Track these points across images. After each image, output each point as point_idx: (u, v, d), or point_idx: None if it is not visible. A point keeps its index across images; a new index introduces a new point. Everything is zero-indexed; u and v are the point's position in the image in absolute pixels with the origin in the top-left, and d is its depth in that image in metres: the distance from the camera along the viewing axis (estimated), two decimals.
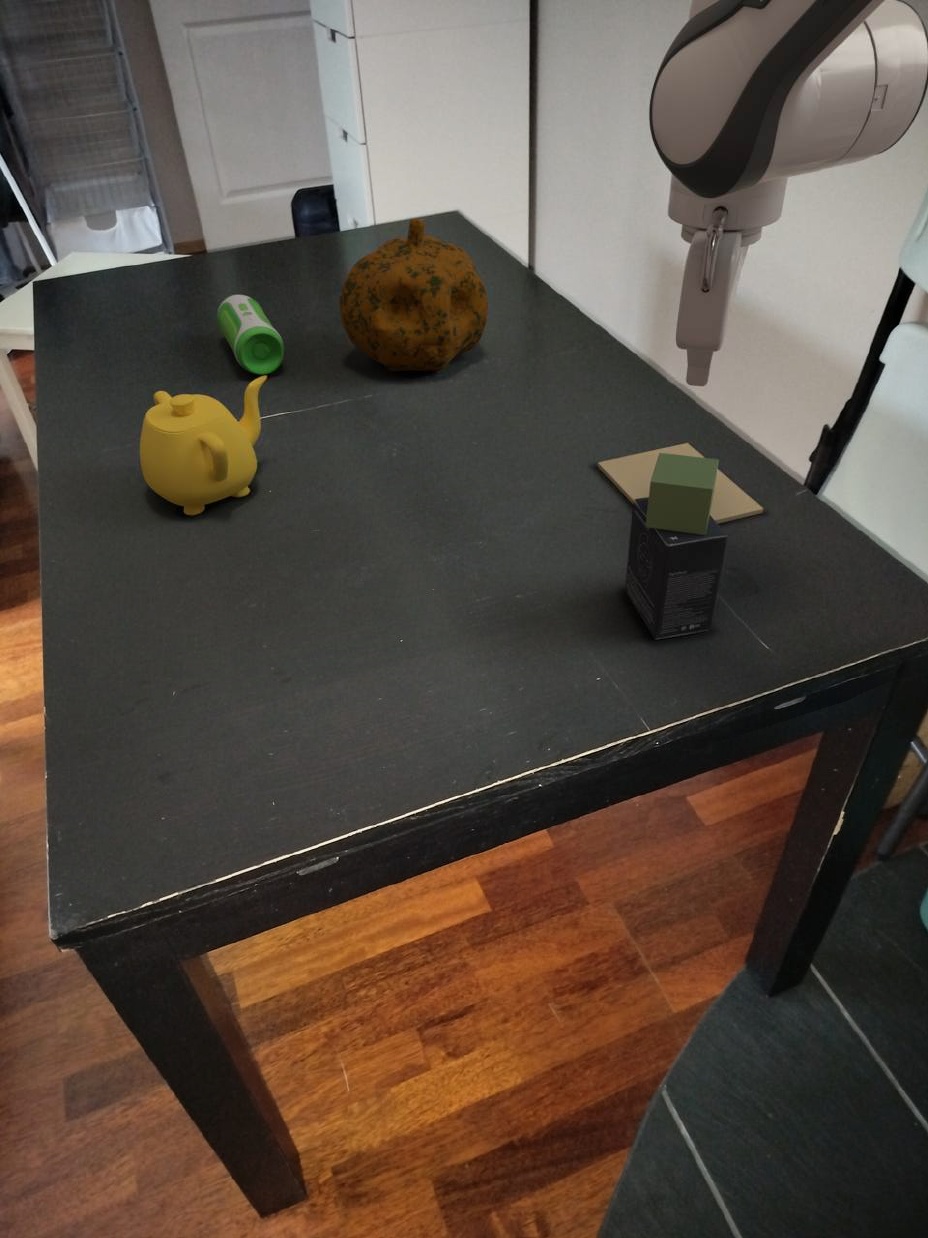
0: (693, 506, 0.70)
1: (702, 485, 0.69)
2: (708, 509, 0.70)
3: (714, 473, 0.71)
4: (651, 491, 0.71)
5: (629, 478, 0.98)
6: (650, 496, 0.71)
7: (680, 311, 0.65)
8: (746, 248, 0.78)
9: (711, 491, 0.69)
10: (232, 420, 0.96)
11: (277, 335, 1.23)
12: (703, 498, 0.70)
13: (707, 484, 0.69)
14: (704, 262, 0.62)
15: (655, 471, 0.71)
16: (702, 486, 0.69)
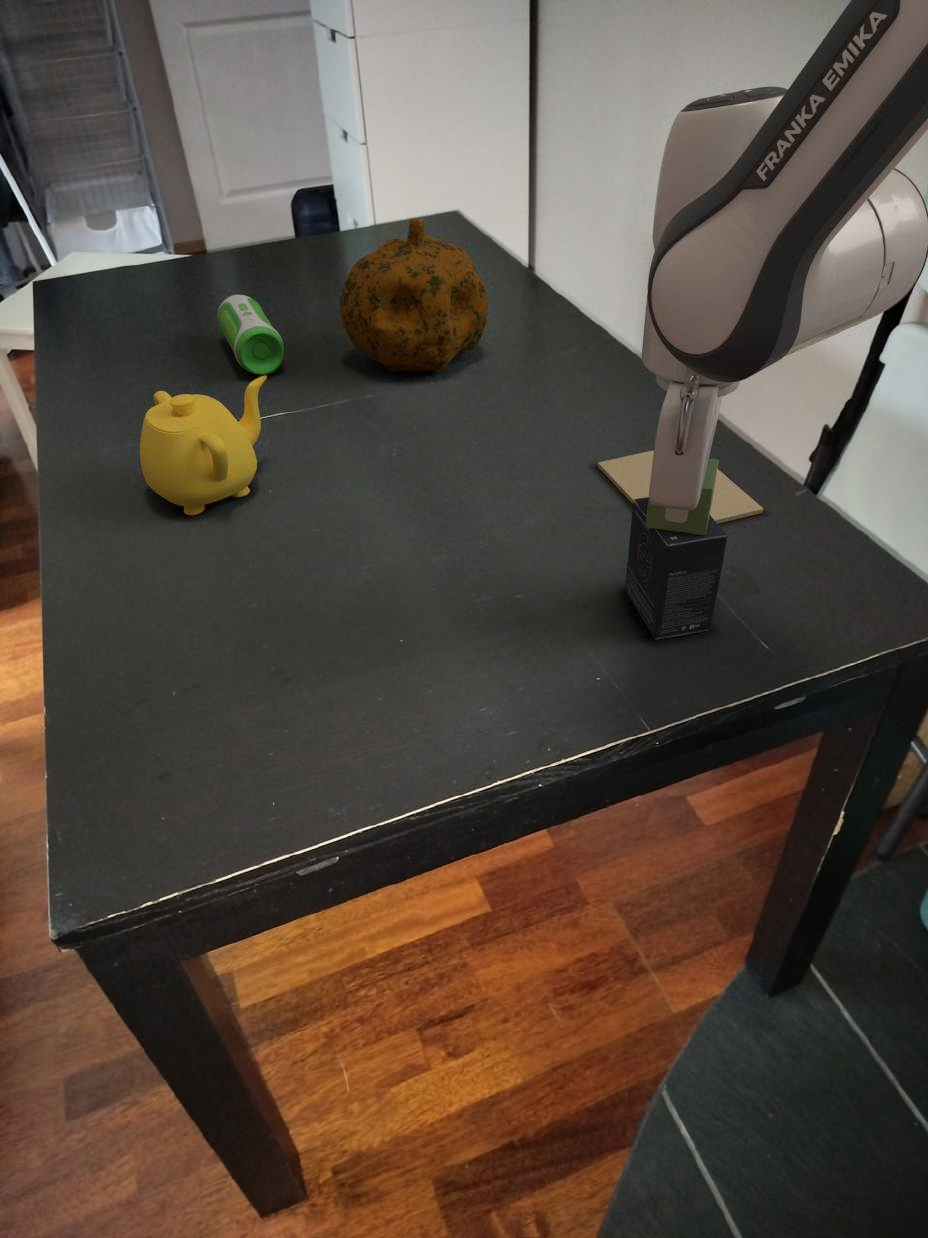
0: None
1: None
2: (708, 509, 0.70)
3: (714, 473, 0.71)
4: None
5: (629, 478, 0.98)
6: None
7: (653, 471, 0.61)
8: None
9: (711, 491, 0.69)
10: (232, 420, 0.96)
11: (277, 335, 1.23)
12: (702, 499, 0.70)
13: (707, 484, 0.69)
14: (677, 428, 0.58)
15: None
16: None
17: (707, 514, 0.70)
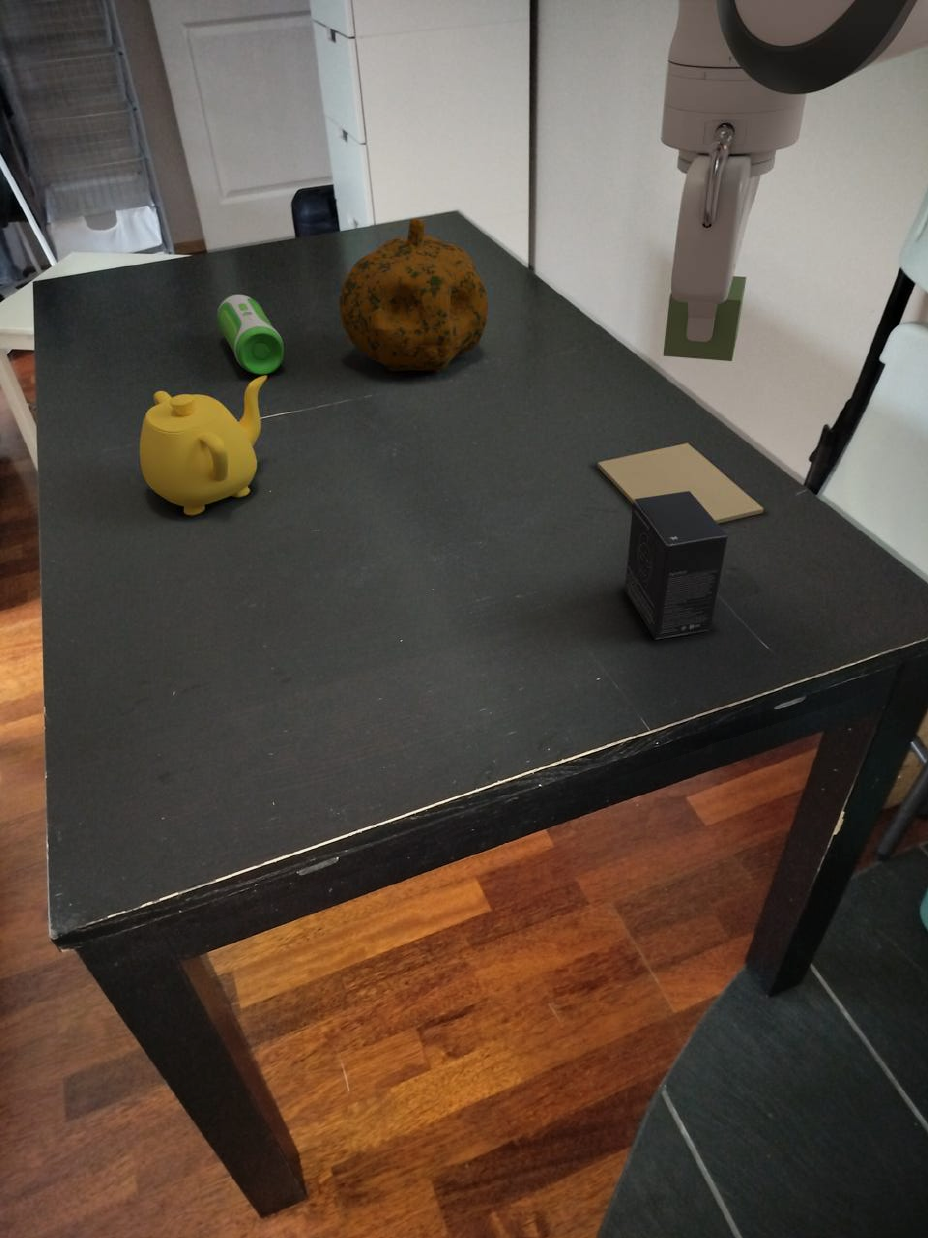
0: (718, 324, 0.62)
1: (729, 297, 0.61)
2: (735, 327, 0.62)
3: (742, 287, 0.62)
4: (670, 308, 0.62)
5: (629, 478, 0.98)
6: (669, 315, 0.62)
7: (676, 253, 0.53)
8: (755, 189, 0.66)
9: (739, 303, 0.60)
10: (232, 420, 0.96)
11: (277, 335, 1.23)
12: (729, 313, 0.61)
13: (734, 296, 0.61)
14: (705, 188, 0.50)
15: None
16: (728, 298, 0.61)
17: (734, 333, 0.62)
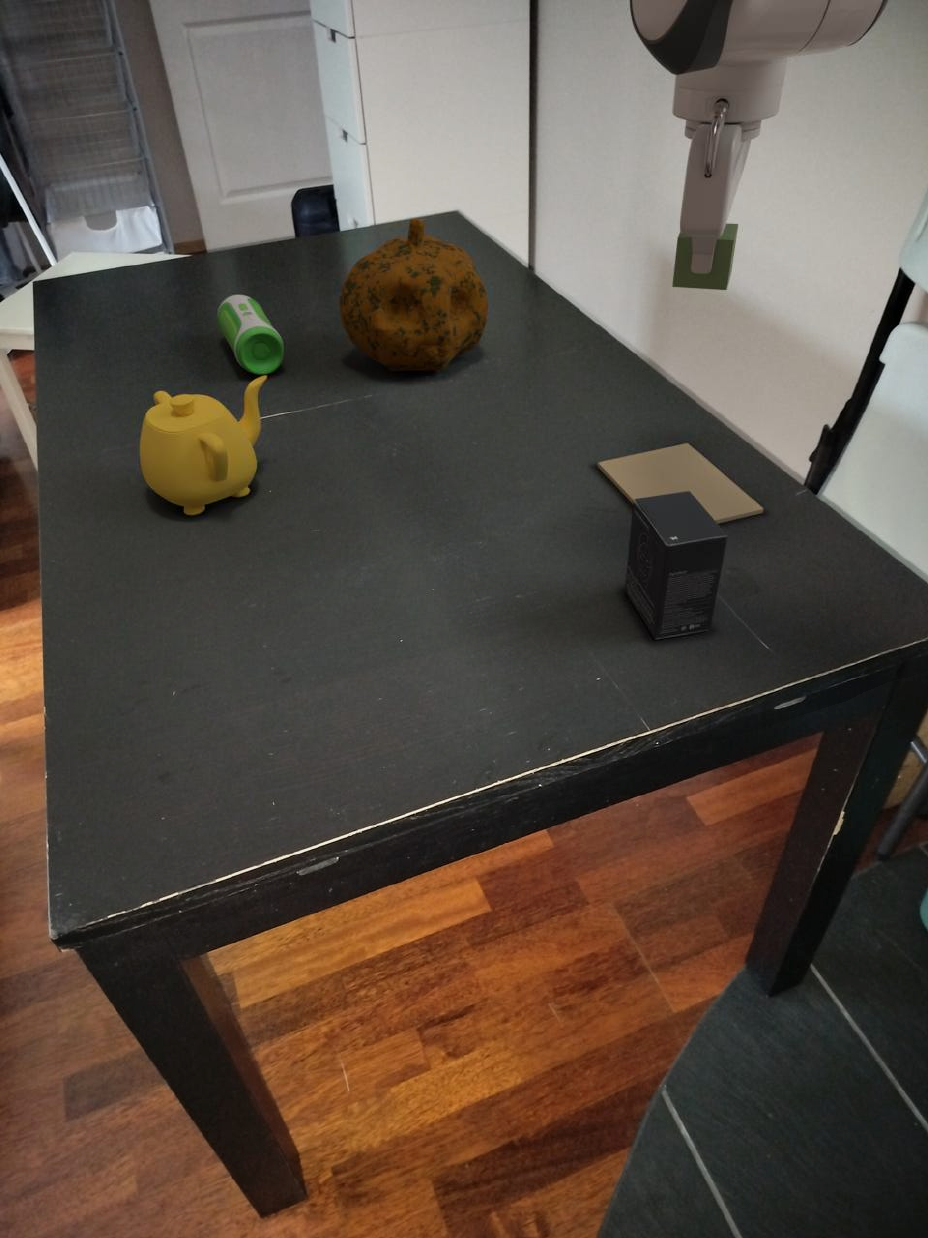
0: (716, 260, 0.78)
1: (724, 237, 0.77)
2: (729, 261, 0.78)
3: (734, 231, 0.79)
4: (678, 247, 0.79)
5: (629, 478, 0.98)
6: (677, 253, 0.79)
7: (684, 197, 0.69)
8: (745, 155, 0.82)
9: (732, 242, 0.77)
10: (232, 420, 0.96)
11: (277, 335, 1.23)
12: (725, 250, 0.78)
13: (729, 237, 0.77)
14: (707, 146, 0.66)
15: None
16: (724, 238, 0.77)
17: (728, 267, 0.78)
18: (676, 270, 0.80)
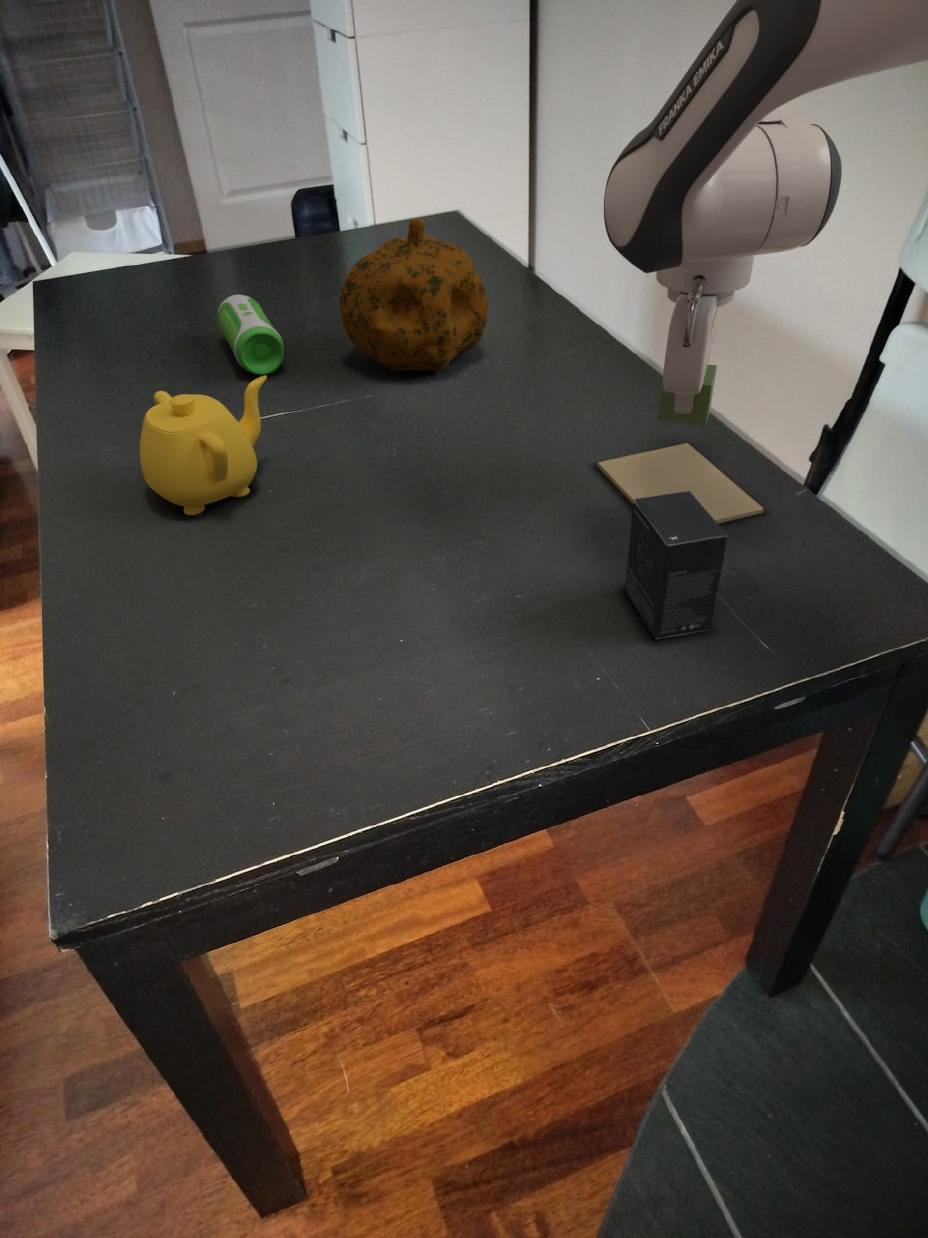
0: (696, 401, 0.88)
1: (703, 382, 0.86)
2: (708, 403, 0.87)
3: (713, 374, 0.88)
4: (662, 389, 0.88)
5: (629, 478, 0.98)
6: (661, 393, 0.88)
7: (666, 362, 0.79)
8: None
9: (710, 387, 0.86)
10: (232, 420, 0.96)
11: (277, 335, 1.23)
12: (704, 393, 0.87)
13: (707, 382, 0.87)
14: (685, 323, 0.75)
15: None
16: (703, 383, 0.86)
17: (707, 407, 0.88)
18: (661, 407, 0.89)
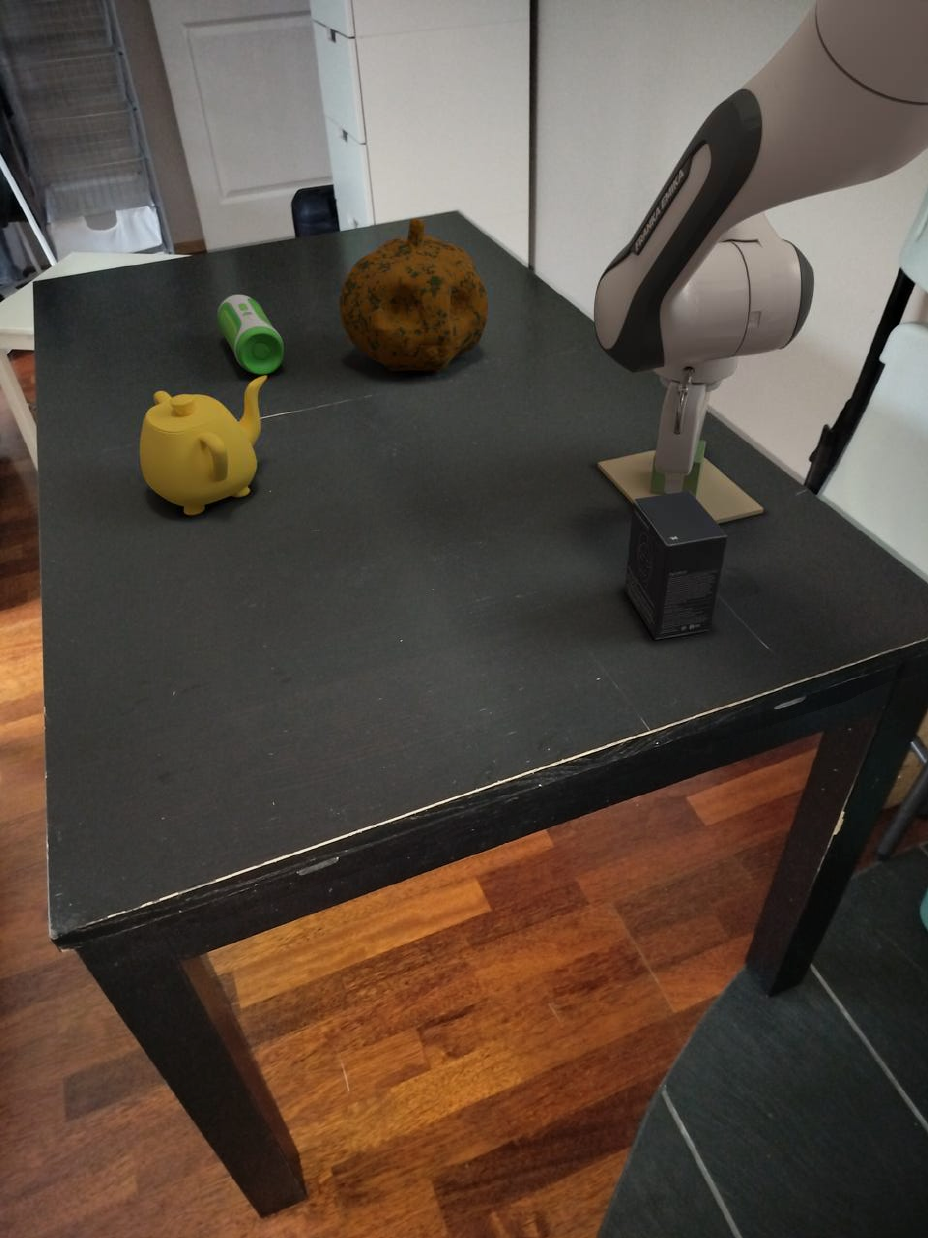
0: (686, 476, 0.93)
1: None
2: (697, 478, 0.93)
3: (702, 451, 0.93)
4: (654, 465, 0.93)
5: (629, 478, 0.98)
6: (653, 468, 0.94)
7: (658, 446, 0.84)
8: None
9: (699, 464, 0.92)
10: (232, 420, 0.96)
11: (277, 335, 1.23)
12: (693, 470, 0.92)
13: (696, 459, 0.92)
14: (675, 414, 0.81)
15: None
16: None
17: (696, 482, 0.93)
18: (653, 481, 0.95)
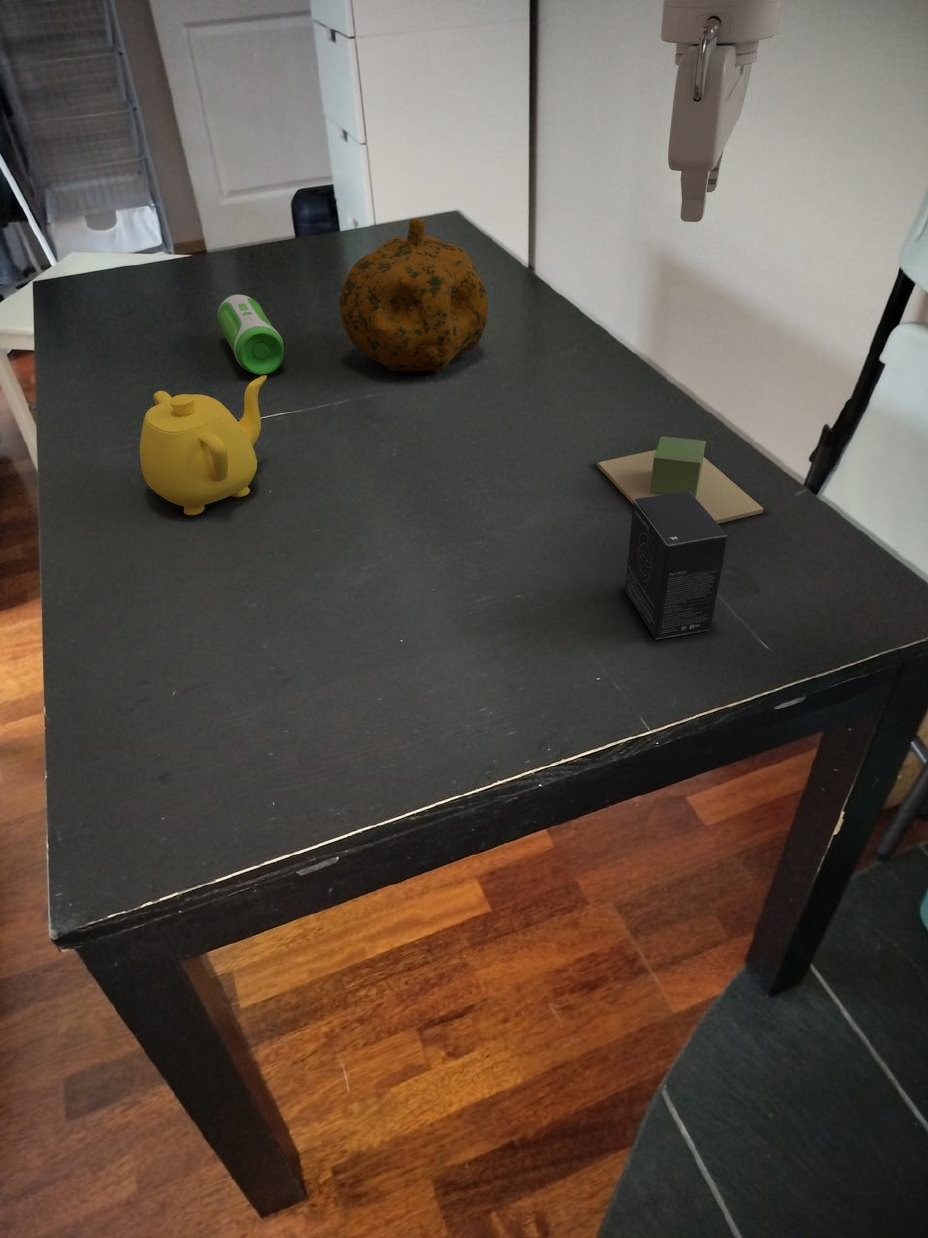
0: (686, 476, 0.93)
1: (693, 460, 0.92)
2: (697, 478, 0.93)
3: (702, 451, 0.93)
4: (654, 465, 0.93)
5: (629, 478, 0.98)
6: (653, 468, 0.94)
7: (672, 125, 0.63)
8: (744, 92, 0.76)
9: (699, 464, 0.92)
10: (232, 420, 0.96)
11: (277, 335, 1.23)
12: (693, 470, 0.92)
13: (696, 459, 0.92)
14: (695, 65, 0.60)
15: (657, 450, 0.94)
16: (692, 460, 0.92)
17: (696, 482, 0.93)
18: (653, 481, 0.95)
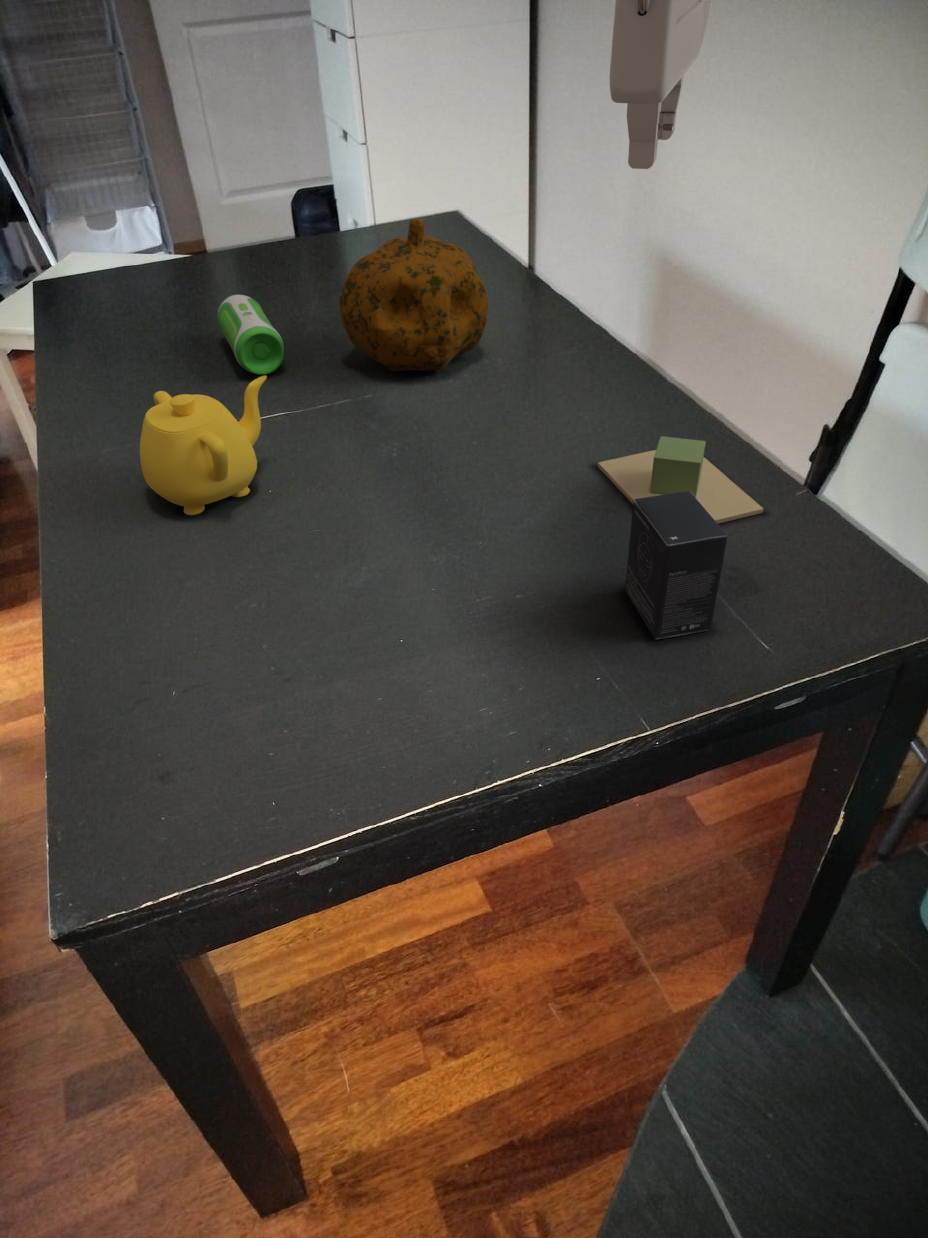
0: (686, 476, 0.93)
1: (693, 460, 0.92)
2: (697, 478, 0.93)
3: (702, 451, 0.93)
4: (654, 465, 0.93)
5: (629, 478, 0.98)
6: (653, 468, 0.94)
7: (613, 45, 0.53)
8: (704, 23, 0.66)
9: (699, 464, 0.92)
10: (232, 420, 0.96)
11: (277, 335, 1.23)
12: (693, 470, 0.92)
13: (696, 459, 0.92)
14: None
15: (657, 450, 0.94)
16: (692, 460, 0.92)
17: (696, 482, 0.93)
18: (653, 481, 0.95)
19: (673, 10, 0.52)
